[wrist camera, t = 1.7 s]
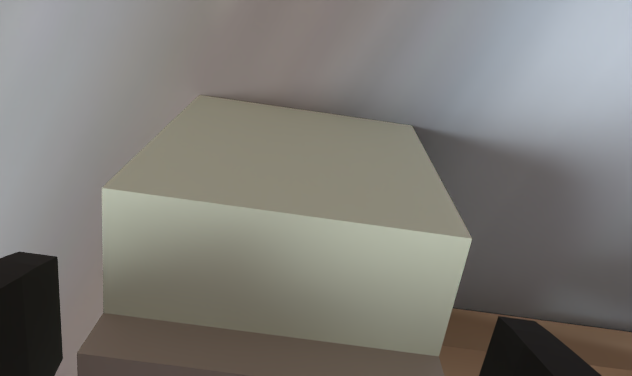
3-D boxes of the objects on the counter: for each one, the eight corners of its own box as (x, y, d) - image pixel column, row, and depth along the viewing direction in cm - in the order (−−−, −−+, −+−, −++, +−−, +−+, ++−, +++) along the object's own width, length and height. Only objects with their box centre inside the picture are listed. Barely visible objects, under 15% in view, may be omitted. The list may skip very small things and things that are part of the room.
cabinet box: (362, 350, 14) (385, 615, 8) (186, 328, 13) (85, 580, 8) (411, 124, 11) (490, 273, 6) (199, 94, 11) (71, 216, 6)
